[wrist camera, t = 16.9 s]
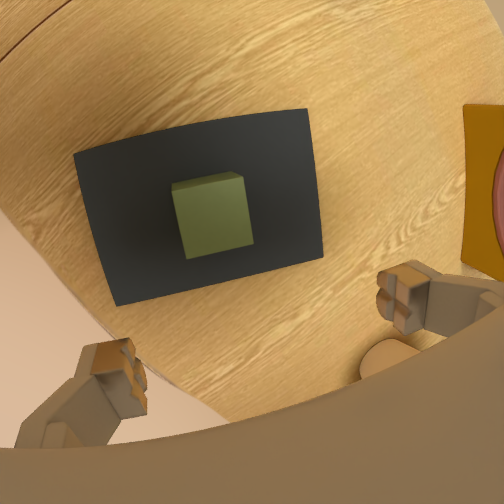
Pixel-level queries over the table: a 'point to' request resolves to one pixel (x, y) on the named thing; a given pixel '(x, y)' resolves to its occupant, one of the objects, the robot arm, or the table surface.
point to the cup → (385, 356)
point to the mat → (190, 167)
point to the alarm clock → (484, 189)
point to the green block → (212, 214)
